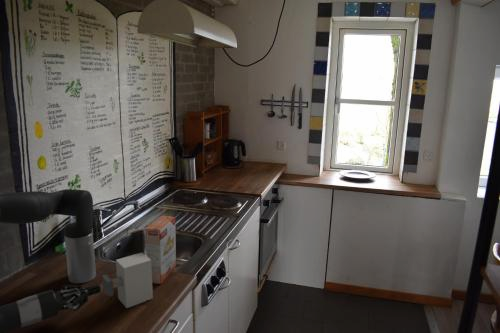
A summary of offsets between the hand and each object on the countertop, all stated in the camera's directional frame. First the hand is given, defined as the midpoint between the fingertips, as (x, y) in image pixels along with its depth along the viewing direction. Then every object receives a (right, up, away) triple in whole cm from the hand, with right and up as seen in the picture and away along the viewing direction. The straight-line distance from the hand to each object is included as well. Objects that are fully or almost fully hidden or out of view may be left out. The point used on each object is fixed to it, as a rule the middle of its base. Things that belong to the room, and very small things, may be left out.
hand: (99, 288), depth 118 cm
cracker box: (+14, -3, +25) cm, 29 cm away
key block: (+8, -6, +9) cm, 14 cm away
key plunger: (+4, -2, +4) cm, 6 cm away
